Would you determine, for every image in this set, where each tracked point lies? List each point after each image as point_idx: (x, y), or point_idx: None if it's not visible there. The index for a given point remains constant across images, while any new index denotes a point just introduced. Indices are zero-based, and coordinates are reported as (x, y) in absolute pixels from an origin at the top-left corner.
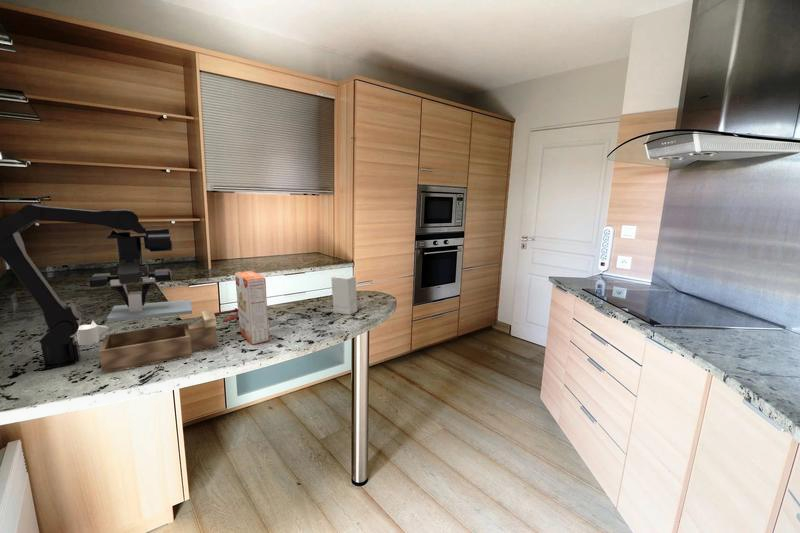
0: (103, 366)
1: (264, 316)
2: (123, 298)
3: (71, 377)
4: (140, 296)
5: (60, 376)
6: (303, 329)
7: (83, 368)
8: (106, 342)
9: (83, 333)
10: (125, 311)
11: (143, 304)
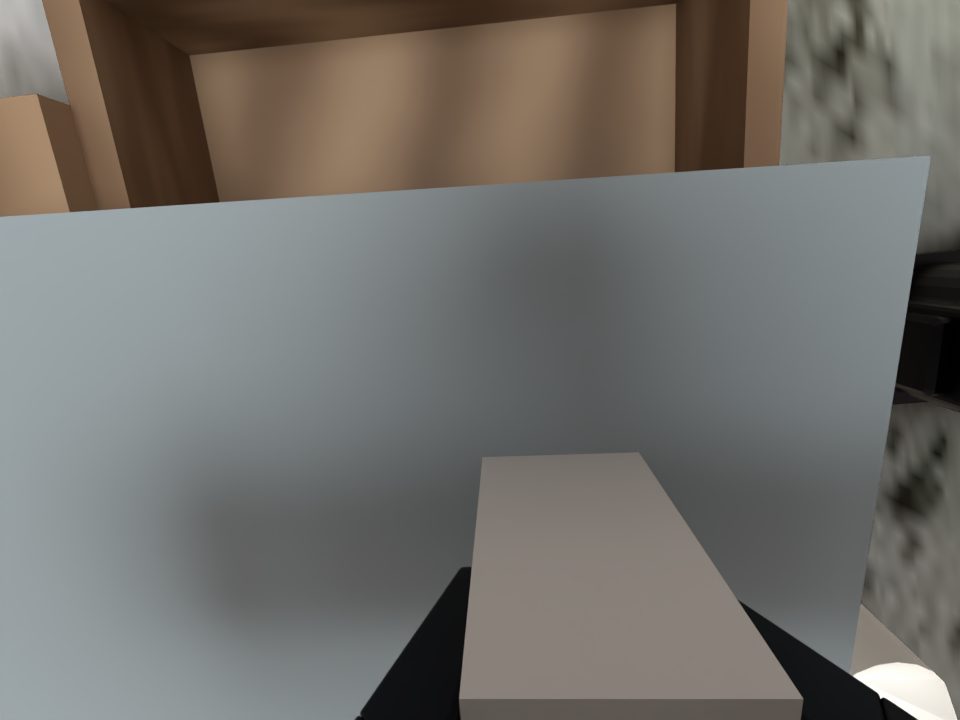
0: None
1: None
2: (839, 671)
3: (853, 18)
4: (479, 632)
5: (911, 73)
6: None
7: (801, 159)
8: (750, 142)
9: (882, 639)
10: (688, 486)
11: (465, 573)
